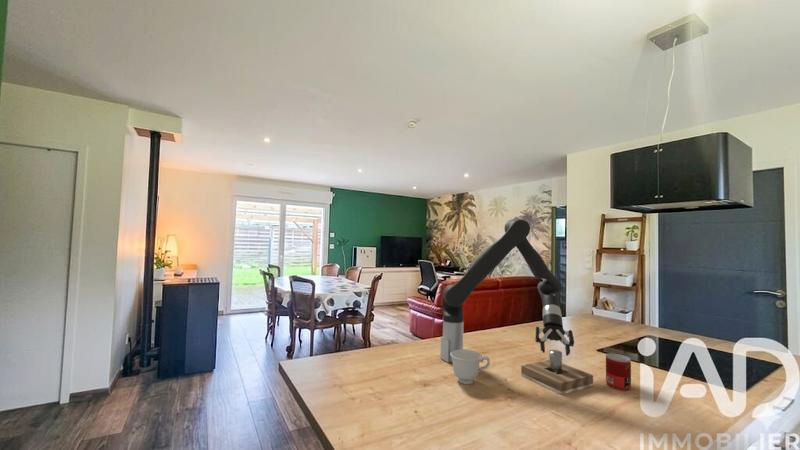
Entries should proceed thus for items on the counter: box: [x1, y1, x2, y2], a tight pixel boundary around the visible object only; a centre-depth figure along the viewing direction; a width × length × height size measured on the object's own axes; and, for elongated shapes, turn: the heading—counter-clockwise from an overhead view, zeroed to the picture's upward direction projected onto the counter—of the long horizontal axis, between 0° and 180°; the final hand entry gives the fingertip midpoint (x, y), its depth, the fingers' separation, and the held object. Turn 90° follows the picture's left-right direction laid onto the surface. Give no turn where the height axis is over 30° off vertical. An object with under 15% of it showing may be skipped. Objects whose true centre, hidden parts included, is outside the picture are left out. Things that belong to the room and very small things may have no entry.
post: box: [548, 349, 563, 374], centre depth 130 cm, size 4×4×10 cm
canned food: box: [605, 353, 632, 391], centre depth 126 cm, size 8×8×11 cm
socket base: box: [520, 359, 594, 396], centre depth 129 cm, size 18×18×4 cm
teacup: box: [450, 348, 491, 385], centre depth 127 cm, size 12×15×10 cm
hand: (555, 353), depth 131 cm, fingers open, 8 cm apart
